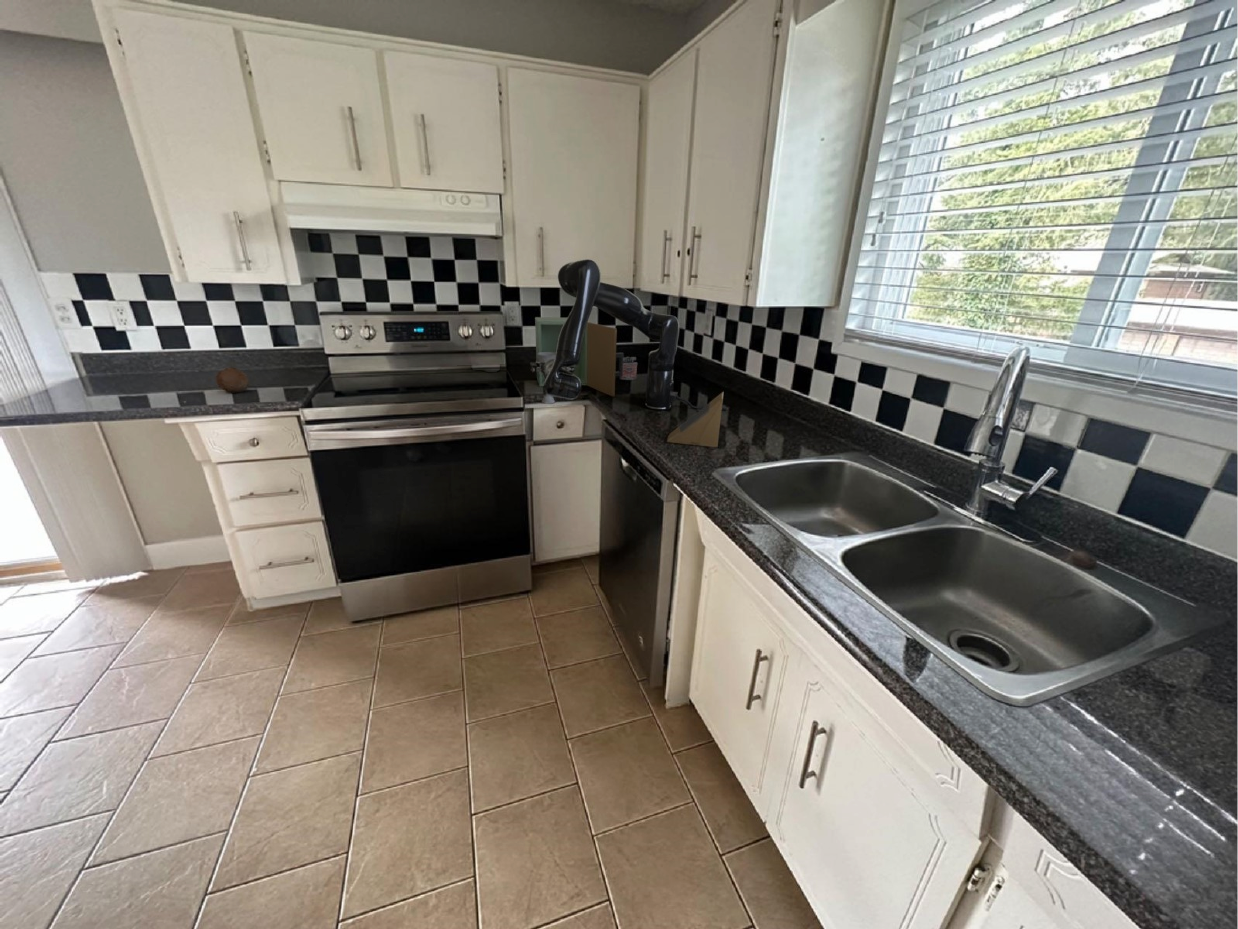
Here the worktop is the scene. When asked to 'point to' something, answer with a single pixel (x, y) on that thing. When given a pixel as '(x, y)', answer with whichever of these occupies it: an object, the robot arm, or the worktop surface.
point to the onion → (232, 380)
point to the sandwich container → (701, 426)
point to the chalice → (543, 358)
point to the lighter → (629, 369)
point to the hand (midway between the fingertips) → (550, 363)
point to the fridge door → (602, 358)
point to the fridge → (548, 341)
